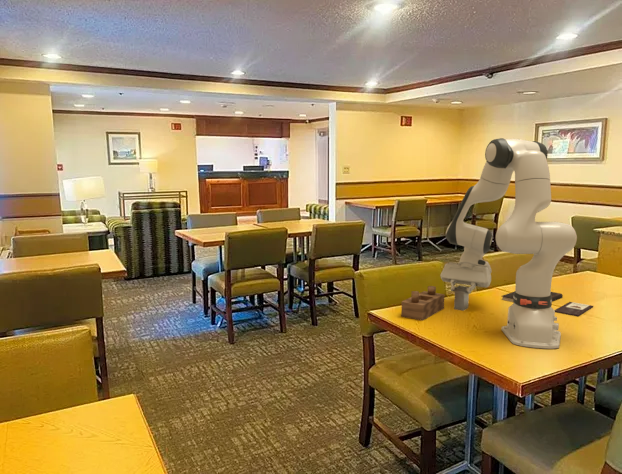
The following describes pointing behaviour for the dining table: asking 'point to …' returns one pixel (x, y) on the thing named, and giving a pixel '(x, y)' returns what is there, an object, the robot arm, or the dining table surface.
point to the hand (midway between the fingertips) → (460, 291)
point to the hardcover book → (510, 296)
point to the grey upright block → (461, 298)
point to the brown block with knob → (423, 304)
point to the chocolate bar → (573, 309)
